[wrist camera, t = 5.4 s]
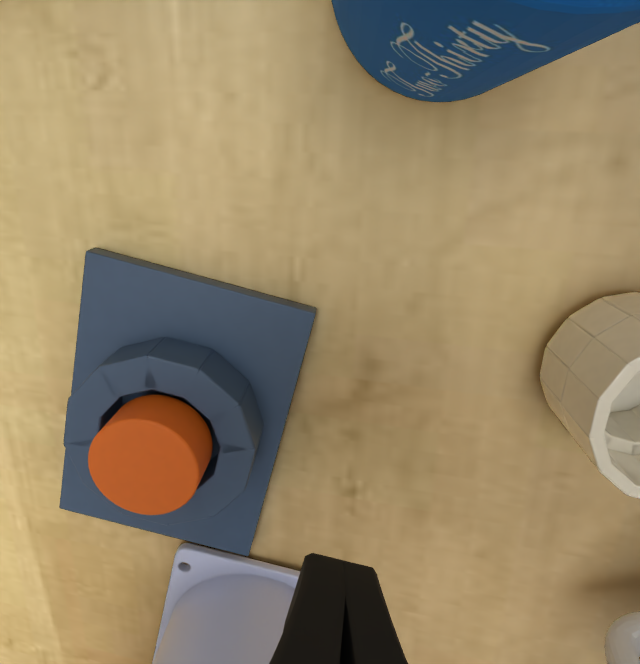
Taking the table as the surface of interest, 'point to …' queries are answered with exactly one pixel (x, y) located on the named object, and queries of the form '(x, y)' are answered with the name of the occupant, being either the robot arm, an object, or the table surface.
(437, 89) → the beverage can
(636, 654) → the mug
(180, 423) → the button
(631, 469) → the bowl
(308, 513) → the table surface
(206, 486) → the pad
